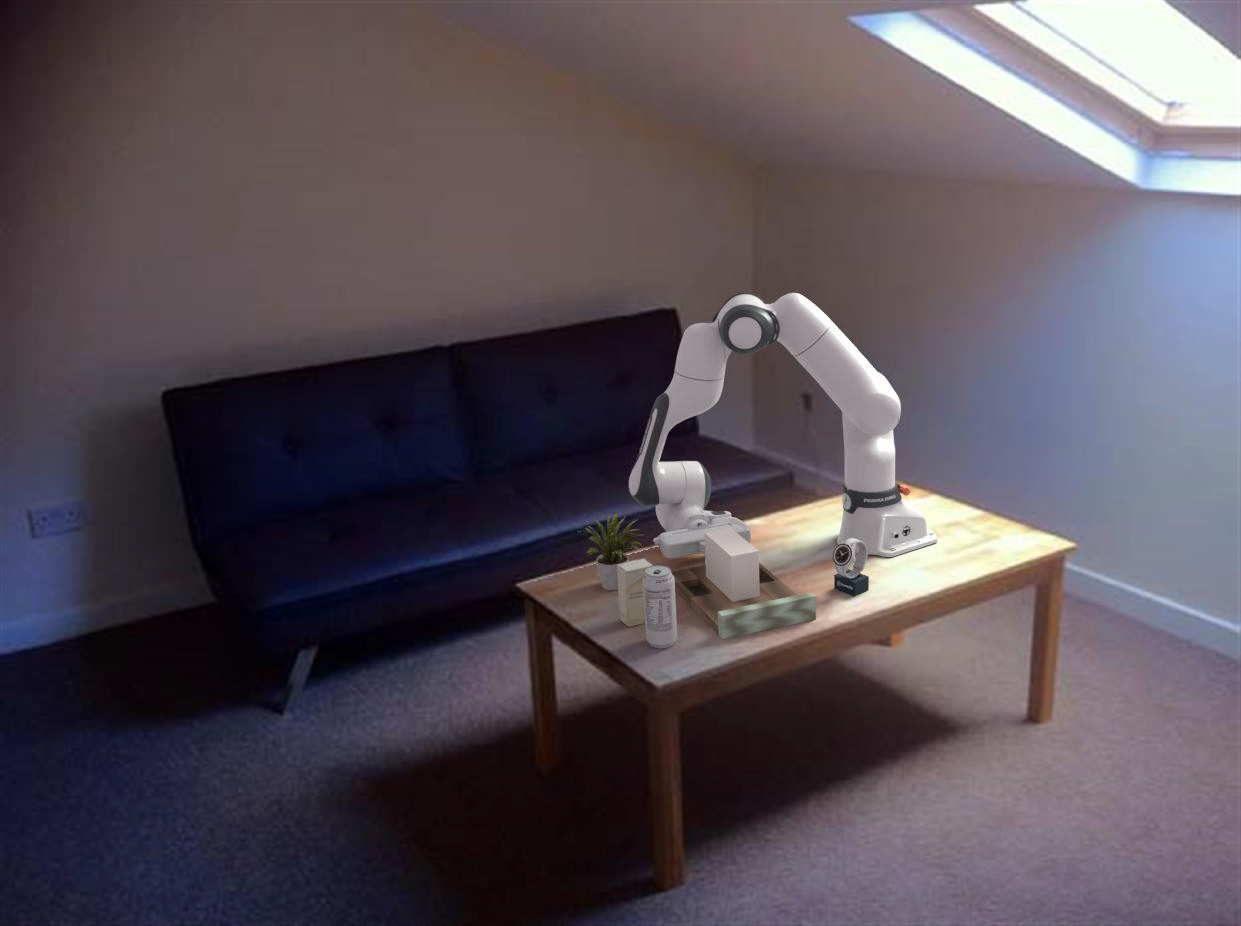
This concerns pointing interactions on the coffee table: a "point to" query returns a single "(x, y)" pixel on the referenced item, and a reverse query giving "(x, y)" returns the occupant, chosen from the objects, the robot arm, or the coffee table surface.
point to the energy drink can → (659, 606)
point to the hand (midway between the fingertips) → (718, 552)
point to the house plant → (611, 550)
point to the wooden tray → (744, 603)
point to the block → (732, 564)
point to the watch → (847, 578)
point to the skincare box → (632, 591)
